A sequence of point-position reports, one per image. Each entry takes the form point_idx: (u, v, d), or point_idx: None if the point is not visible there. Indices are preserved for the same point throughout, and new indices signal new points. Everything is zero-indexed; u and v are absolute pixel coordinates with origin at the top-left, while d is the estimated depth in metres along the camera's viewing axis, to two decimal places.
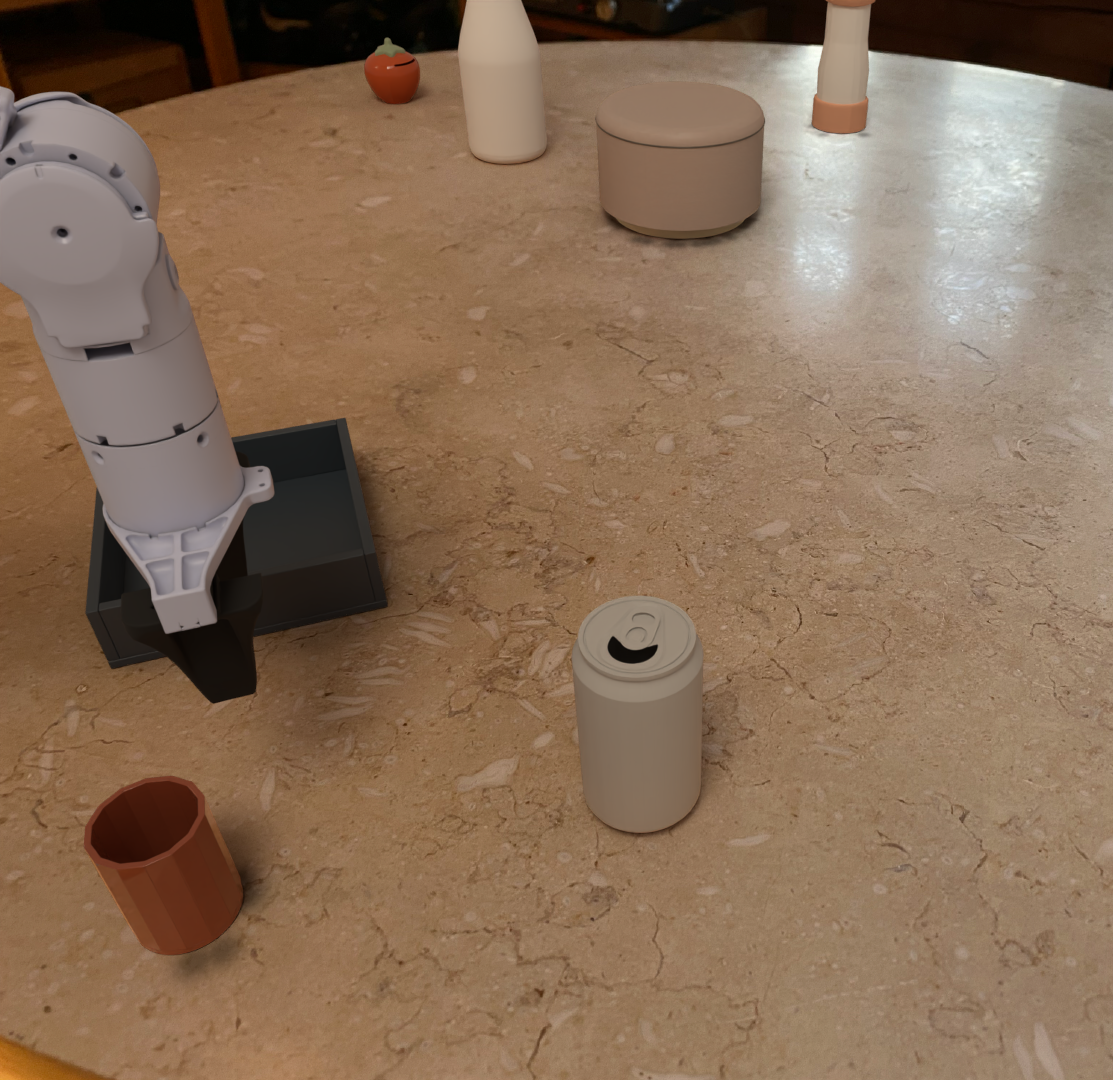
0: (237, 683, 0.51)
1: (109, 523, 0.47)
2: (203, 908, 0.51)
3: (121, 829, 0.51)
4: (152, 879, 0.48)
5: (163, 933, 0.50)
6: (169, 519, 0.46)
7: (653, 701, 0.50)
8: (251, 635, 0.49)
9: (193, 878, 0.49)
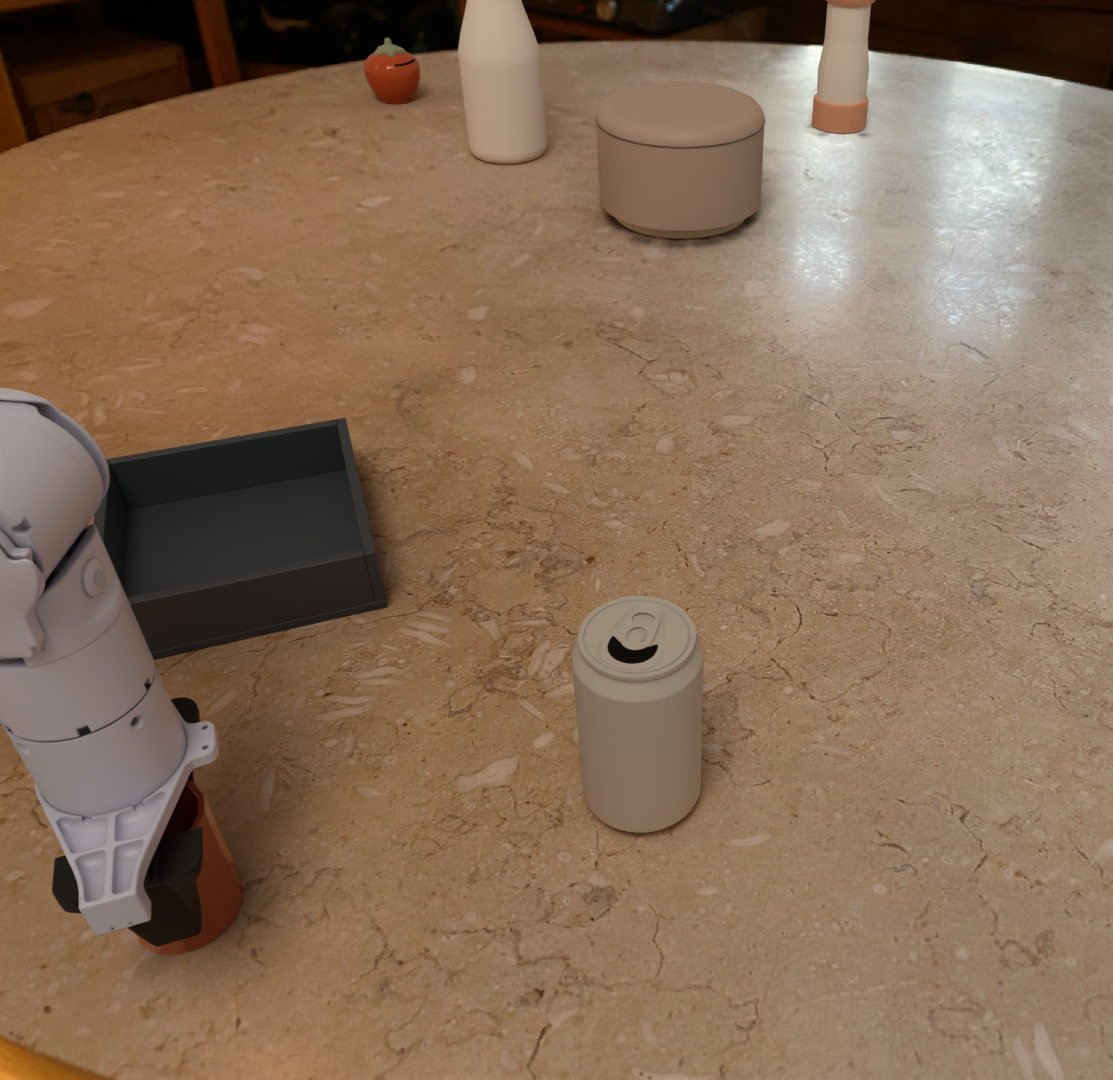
0: (180, 927, 0.49)
1: (40, 801, 0.45)
2: (203, 907, 0.51)
3: None
4: None
5: None
6: (102, 802, 0.44)
7: (653, 701, 0.50)
8: (191, 890, 0.47)
9: None
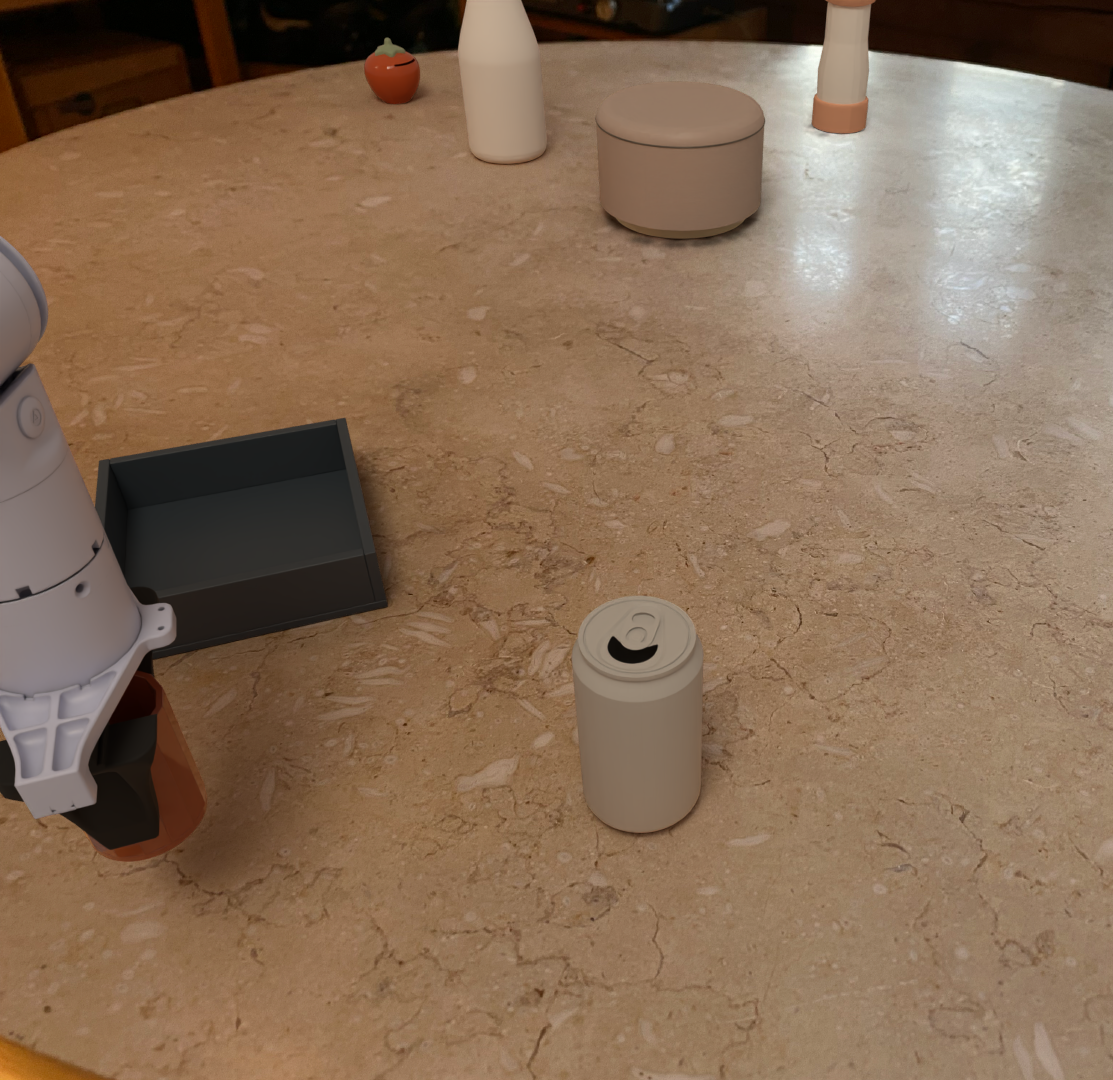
0: (136, 828, 0.46)
1: None
2: (162, 810, 0.47)
3: None
4: None
5: None
6: (46, 678, 0.40)
7: (653, 701, 0.50)
8: (145, 782, 0.43)
9: None
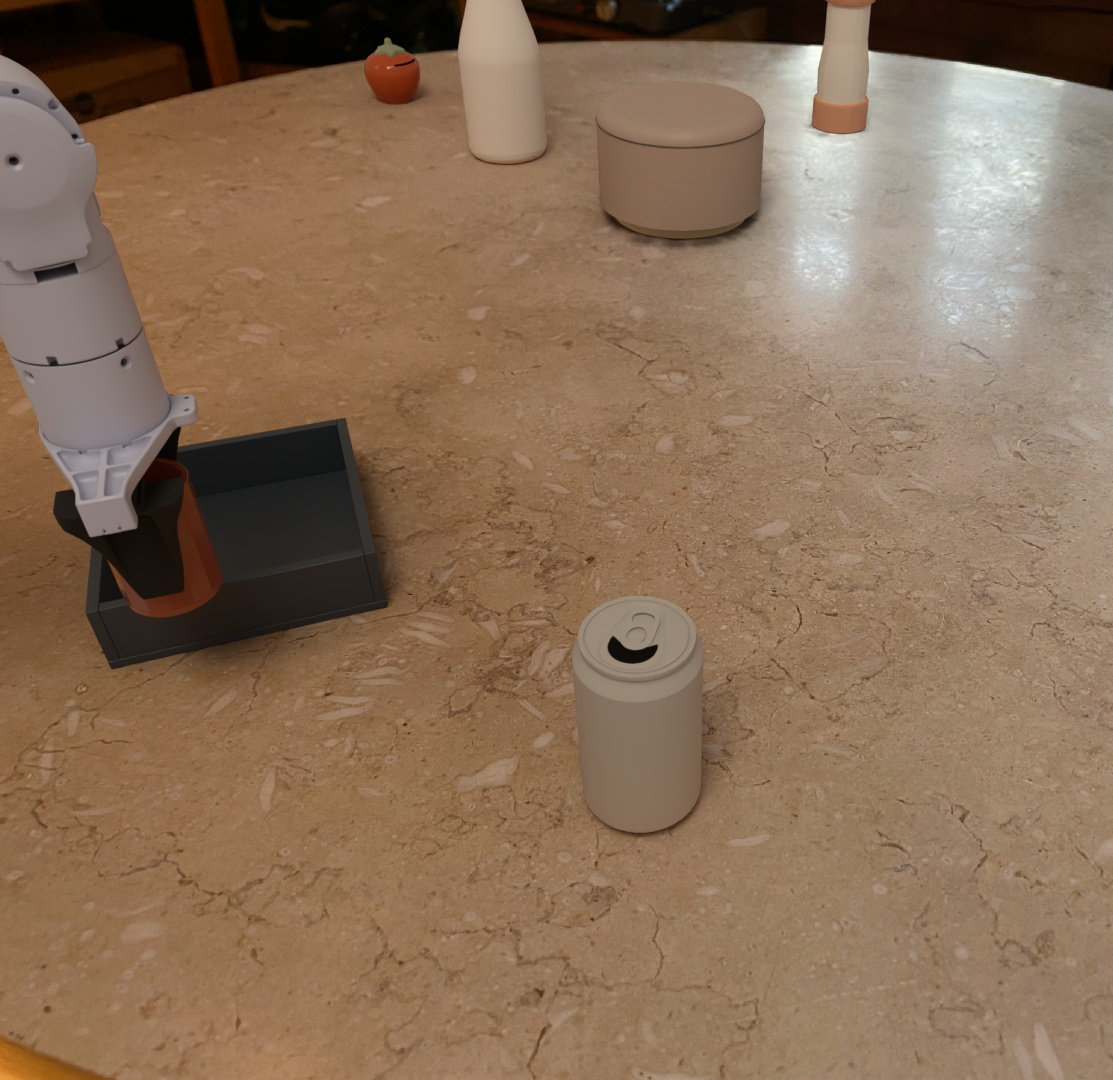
0: (165, 581, 0.56)
1: (43, 441, 0.52)
2: (186, 572, 0.58)
3: None
4: None
5: None
6: (96, 436, 0.51)
7: (653, 701, 0.50)
8: (174, 532, 0.54)
9: None
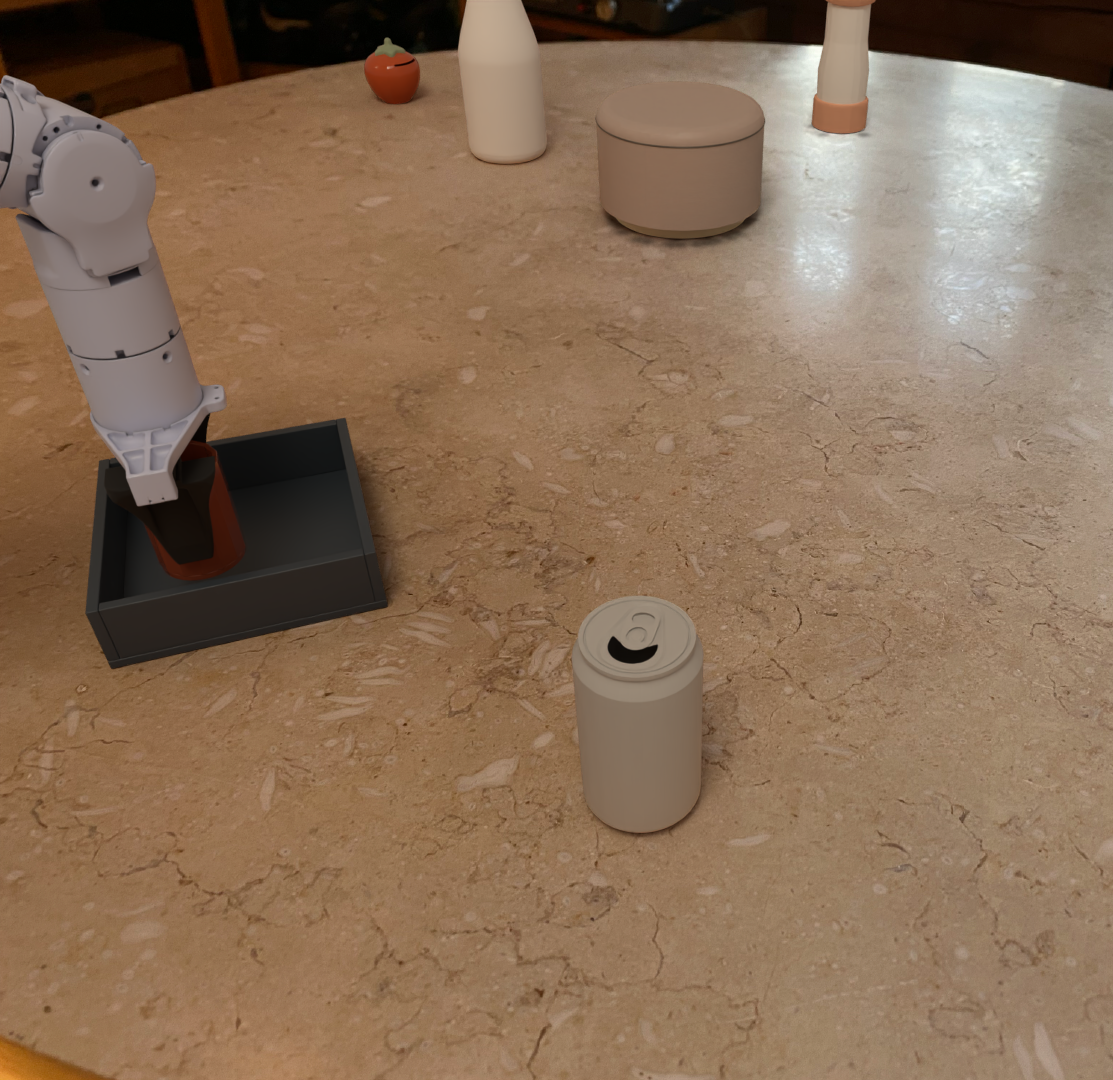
0: (198, 548, 0.65)
1: (95, 424, 0.60)
2: (215, 540, 0.66)
3: None
4: None
5: None
6: (141, 420, 0.59)
7: (653, 701, 0.50)
8: (206, 504, 0.62)
9: None
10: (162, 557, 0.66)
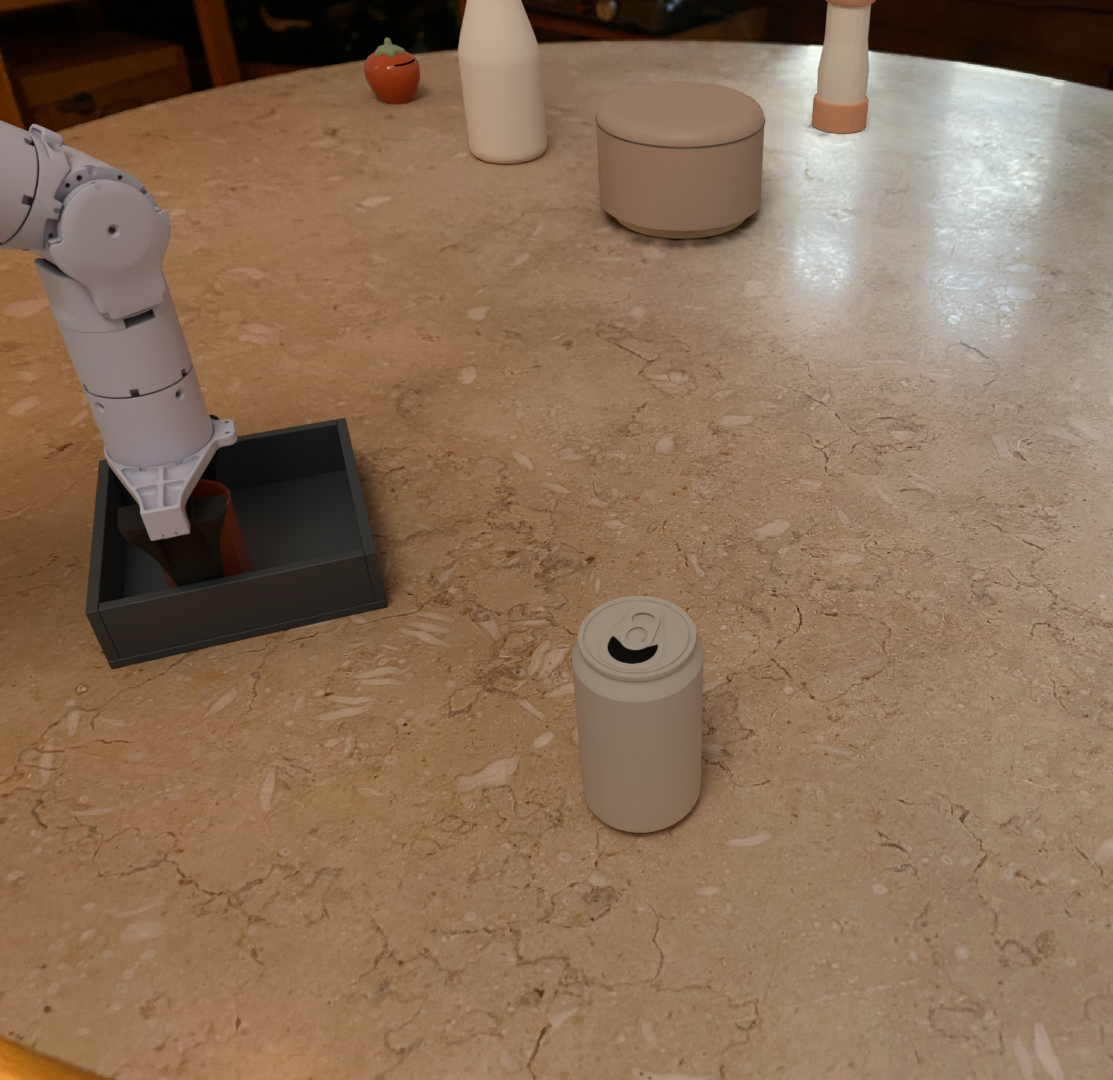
0: None
1: (109, 459, 0.61)
2: None
3: None
4: None
5: None
6: (154, 456, 0.61)
7: (653, 701, 0.50)
8: (217, 541, 0.63)
9: (221, 547, 0.67)
10: None
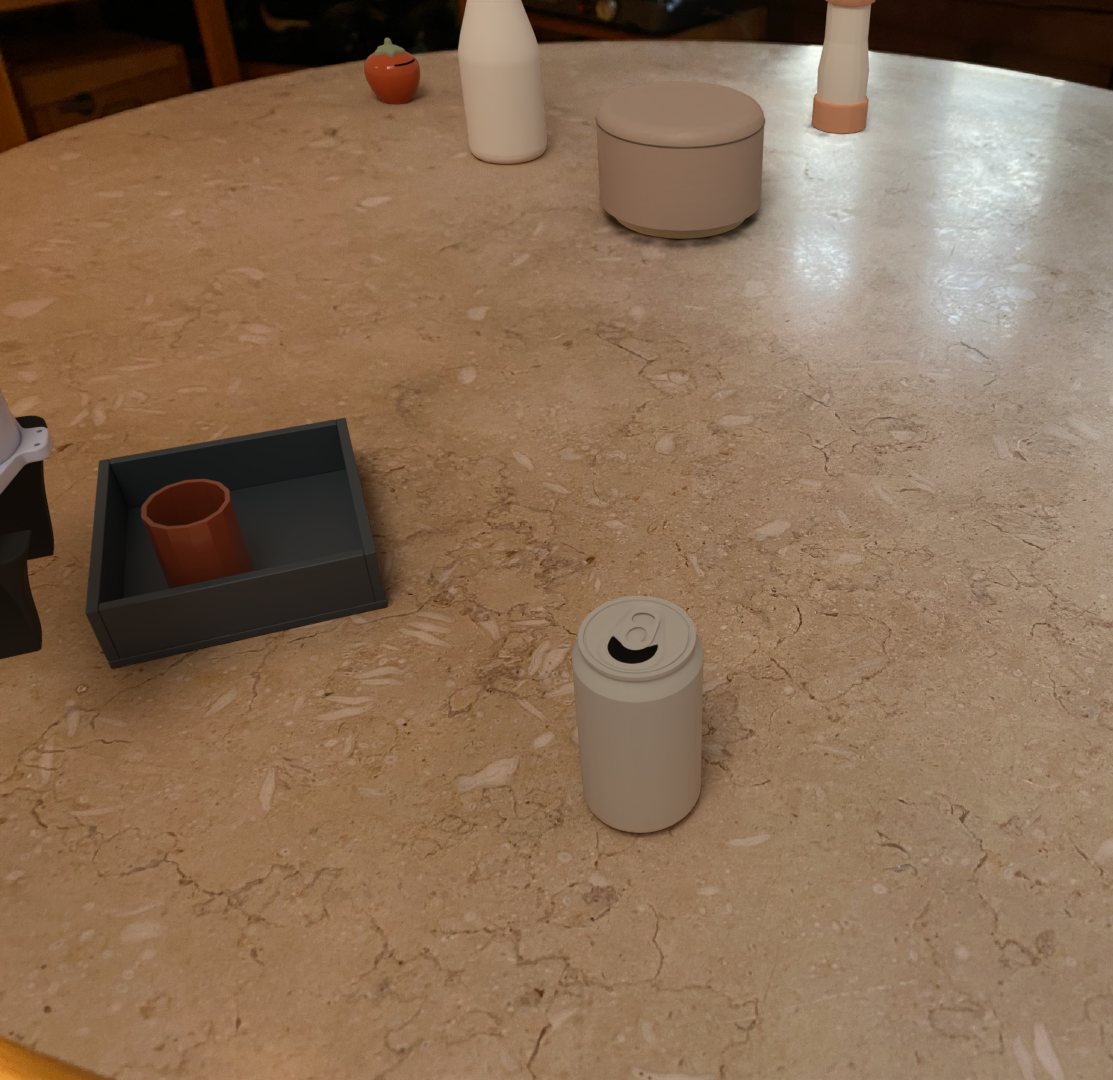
0: (19, 639, 0.52)
1: None
2: None
3: (167, 518, 0.68)
4: (192, 541, 0.65)
5: None
6: None
7: (653, 701, 0.50)
8: (21, 590, 0.50)
9: (221, 547, 0.67)
10: None
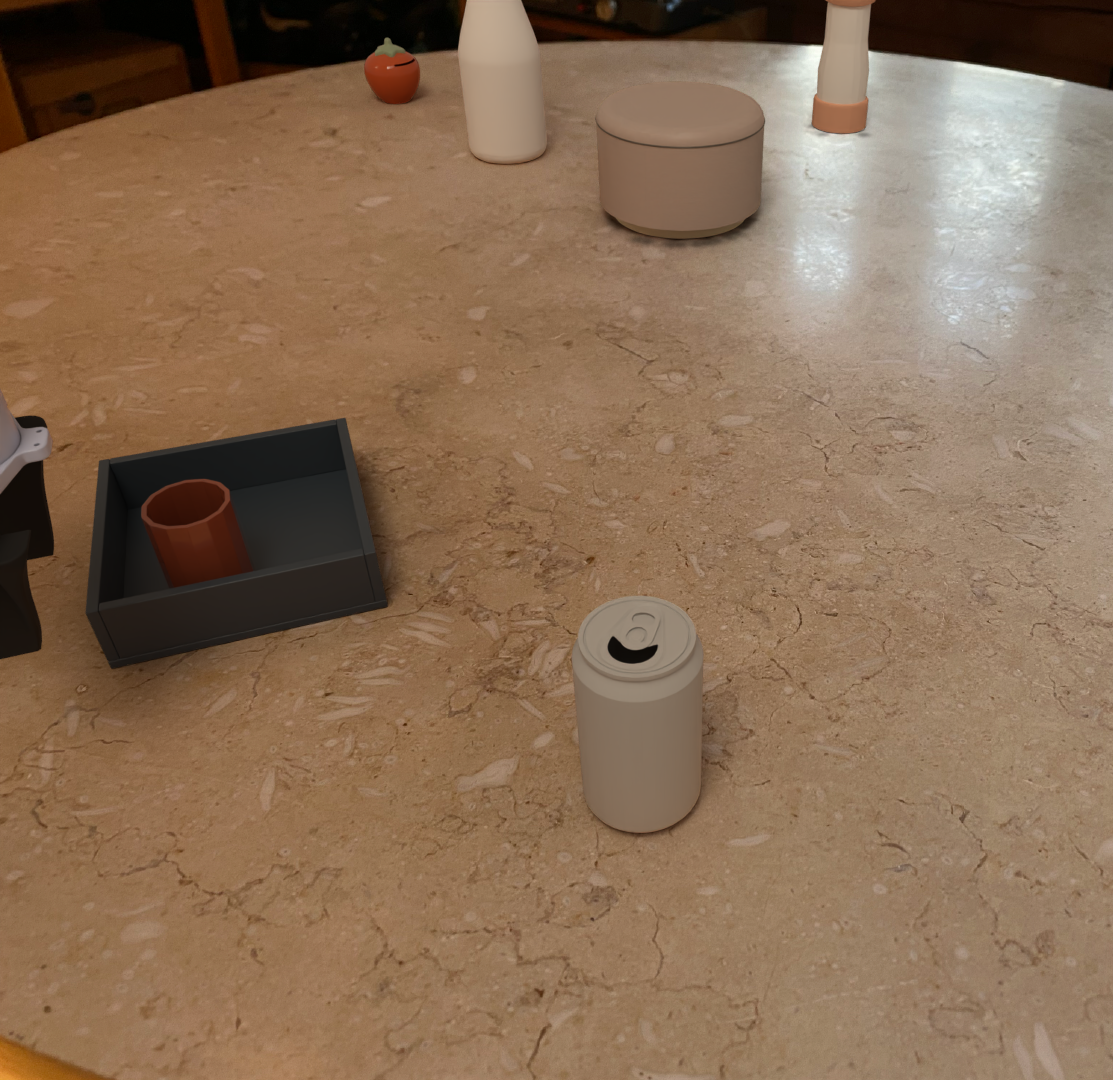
0: (19, 640, 0.52)
1: None
2: None
3: (167, 518, 0.68)
4: (192, 541, 0.65)
5: None
6: None
7: (653, 701, 0.50)
8: (21, 590, 0.50)
9: (221, 547, 0.67)
10: None
